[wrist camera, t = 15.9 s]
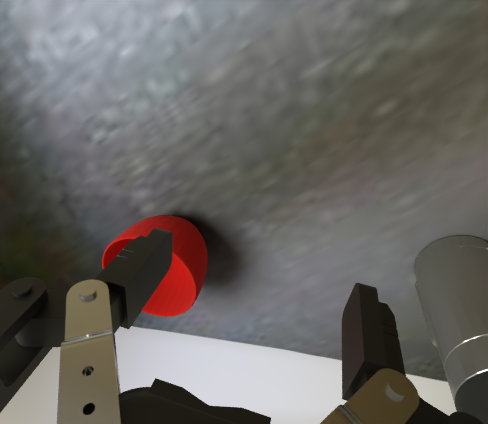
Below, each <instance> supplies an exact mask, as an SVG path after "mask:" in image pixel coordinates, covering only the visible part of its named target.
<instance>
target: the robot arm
mask: <svg viewBox="0 0 488 424" xmlns="http://www.w3.org/2000/svg"><path fill="white" fill-rule="evenodd" d="M172 254H173V234H172V232H170V231H166V230H163V229H159V228H154V229H153V230H152V231H151V232H150V233H149V234H148V235H147V237H144V236H139V237H137V238H135V239H133V240H131V241H130V242H129V243H128V244H127V245H126V246H125V247H124V248H123V250H121V251H120V252H119V253H118V254H117V257H115V258H114V259H113V260H112V261H111V262H110V263H109V264H108V265H107V266H106V267H105V268H104V269H103V270H102V271H101V272H100V273H99V274H98V275H97V277H96V278H95V279H94V280H86V281H82V282H80V283H77V284H76V285H74V286H73V287H72V288H71V289H46V286H45V283H44V282H43V281H42V280H41V279H38V278H34V277H27V278H22V279H18V280H15V281H13V282H11V283H10V284H8V285H7V286H5V287H4V288H3V289H2V290H1V291H0V412H1V411H2V410H3V409H4V407H5V406H6V405H7V404H8V402H9V401H10V400H11V399H12V397H13V396H14V395H15V394H16V392H17V391H18V390H19V388H20V387H21V386H22V385H23V384H24V382H25V381H26V380H27V379H28V377H29V376H30V375H31V374H32V372H33V371H34V370H35V369H36V367H37V366H38V365H39V364H40V362H41V361H42V360H43V359H44V357H45V356H46V355H47V354H48V352H49V351H50V350H51V349H52V347H61V351H60V372H59V393H58V412H57V424H270V421H271V418H270V417H267V416H264V415H261V414H258V413H255V412H252V411H249V410H247V409H244V408H237V407H219V406H209V405H207V404H206V403H204V402H202V401H201V400H200V399H198V398H197V397H195V396H194V395H192V394H191V393H190V392H188V391H187V390H185V389H184V388H182V387H179V386H176V385H173V384H171V383H168V382H165V381H162V380H159V379H155V380H154V382H153V384H152V386H151V387H142V388H136V389H131V390H128V391H125V392H123V393H120V384H119V375H118V365H117V355H116V345H115V335H114V333H115V332H116V331H117V329H118V328H119V327H120V326H121V327H124V328H127V329H129V328H130V327H131V325H132V324H133V322H134V321H135V319H136V318H137V317H138V315H139V314H140V312H141V311H142V309H143V308H144V306H145V305H146V303H147V302H148V300H149V299H150V298H151V296H152V295H153V293H154V292H155V290H156V289H157V287H158V286H159V284H160V283H161V281H162V280H163V278H164V277H165V276H166V274H167V273H168V271H169V269H170V267H171V263H172ZM415 274H416V277H417V283H416V284H415V286H416V290H417V293H418V297H419V300H420V304H421V307H422V311H423V314H424V317H425V321H426V324H427V328H428V331H429V335H430V338H431V342H432V343H433V345H434V346H436V347H438V351H439V354H440V357H441V360H442V364H443V367H444V370H445V373H446V376H447V380H448V383H449V386H450V389H451V393H452V396H453V400H454V403H455V407H456V410H457V412H454V413H452V414H451V415H450V416H448V415H446V414H445V413H443V412H441V411H440V410H438V409H437V408H435V407H433V406H432V405H430V404H428V403H427V402H425V401H424V400H423V399H422V398H420V397H419V395H418V392H417V390H416V388H415V386H414V385H413V383H412V382H411V381H410V380H409V379H408V378H407V377H406V375H405V370H404V364H403V359H402V354H401V348H400V343H399V339H398V332H397V329H396V322H395V316H394V314H393V313H392V311H391V310H390V308H389V306H388V305H387V304H385V303H381V302H379V301H378V294H377V289H376V288H375V287H371V286H368V285H364V284H360V283H356V284H355V286H354V288H353V290H352V293H351V295H350V297H349V299H348V302H347V304H346V306H345V309H344V312H343V317H342V393H343V394H342V399H344V400H347V402H346V403H345V404H344V405H343V406H342V405H339V406H338V407H337V408H336V409H335V410H334V411H333V412H331V413H330V415H328V416H327V417H326V418H325V419H324V420H323V421H322V422H321V423H320V424H488V242H486V241H485V240H482V239H479V238H476V237H471V236H452V237H446V238H443V239H440V240H437V241H435V242H433V243H431V244H430V245H428V246H427V247H426V248H424V249H423V250H422V251H421V253H420V254H419V255H418V257H417V259H416V262H415Z"/></svg>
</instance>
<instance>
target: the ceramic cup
mask: <svg viewBox="0 0 488 424" xmlns="http://www.w3.org/2000/svg"><path fill="white" fill-rule="evenodd" d="M154 228H159V229H163V230H166V231H170V232H172V234H173V254H172V263H171V267H170V269H169V271H168V273H167V274H166V276H165V277H164V278H163V280H162V281H161V283H160V284H159V286H158V287H157V289H156V290H155V292H154V293H153V295H152V296H151V298H150V299H149V300H148V302H147V303H146V305H145V306H144V308H143V309H142V311H143V312H146V313H149V314H152V315H156V316H165V317H167V316H176V315H180V314H182V313H184V312H186V311H187V310H188V309H189V308H191V307H192V306H193V304H194V302H195V301H196V299H197V297H198V295H199V293H200V290H201V288H202V285H203V282H204V279H205V275H206V271H207V266H208V252H207V248H206V243H205V241H204V239H203V237H202V235H201V233H200V232H199V230H198V229H197V228H196V227H195V226H194V225H193V224H192V223H191V222H190V221H188V220H186V219H183V218H180V217H176V216H171V215H159V216H154V217H150V218H147V219H144V220H142V221H140V222H138V223H136V224H134V225H133V226H131V227H130V228H128V229H127V230H126V231H125V232H123V233H122V234H121V235H120V236H118V237H117V238H116V239H115V240H114V241H113V242H112V243H110V244H109V246H108V247H107V249H106V250H105V252H104V255H103V259H102V264H103V269H104V268H105V267H106V266H107V265H108V264H109V263H110V262H111V261H112V260H113V259H114V258H115V257H117V254H118V253H119V252H120V251H121V250H123V248H124V247H125V246H126V245H127V244H128V243H129V242H130V241H131V240H133V239H135V238H137V237H139V236H144V237H147V235H148V234H149V233H150V232H151V231H152V230H153V229H154Z"/></svg>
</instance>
